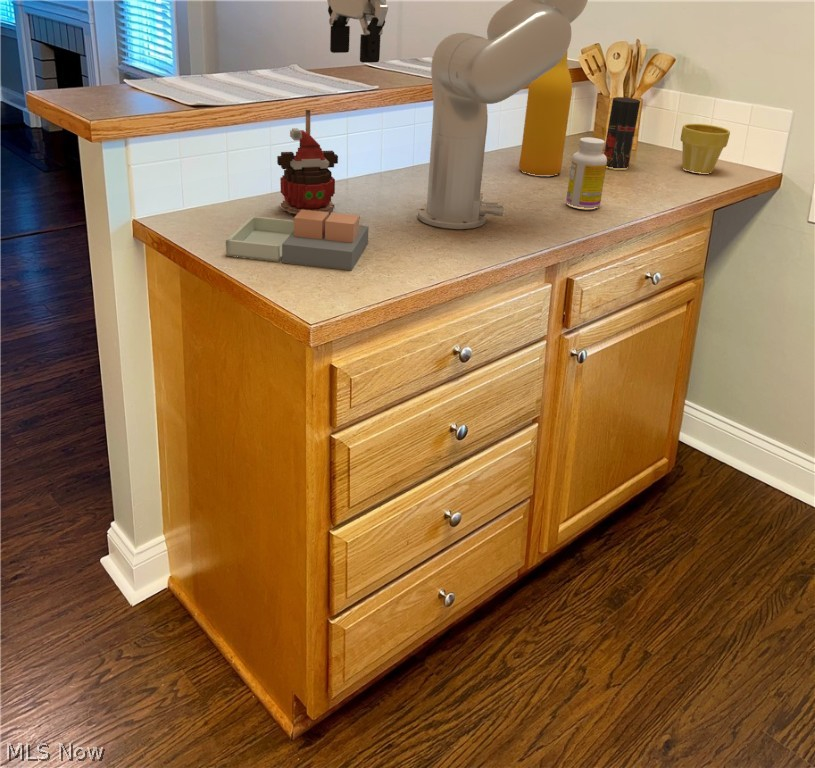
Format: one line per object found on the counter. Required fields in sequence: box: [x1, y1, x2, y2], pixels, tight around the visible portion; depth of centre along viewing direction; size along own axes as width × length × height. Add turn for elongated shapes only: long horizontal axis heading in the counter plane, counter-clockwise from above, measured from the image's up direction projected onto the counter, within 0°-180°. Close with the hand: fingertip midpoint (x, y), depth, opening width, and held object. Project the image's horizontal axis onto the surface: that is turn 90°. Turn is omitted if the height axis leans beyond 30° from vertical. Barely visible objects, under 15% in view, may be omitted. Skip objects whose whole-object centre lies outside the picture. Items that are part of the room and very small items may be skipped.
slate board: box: [281, 224, 370, 272], centre depth 139 cm, size 11×13×3 cm
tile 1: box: [293, 209, 330, 239], centre depth 138 cm, size 4×4×3 cm
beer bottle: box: [518, 51, 573, 175], centre depth 185 cm, size 9×9×29 cm
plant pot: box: [680, 123, 731, 173], centre depth 199 cm, size 10×10×10 cm
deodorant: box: [603, 96, 641, 168], centre depth 196 cm, size 6×6×15 cm
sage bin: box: [225, 215, 294, 263], centre depth 140 cm, size 8×13×3 cm, turn 171°
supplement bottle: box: [565, 136, 607, 208], centre depth 168 cm, size 7×7×13 cm
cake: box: [276, 108, 339, 215], centre depth 154 cm, size 11×9×18 cm
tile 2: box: [325, 212, 361, 243], centre depth 138 cm, size 4×4×3 cm
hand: (354, 57), depth 138 cm, fingers open, 9 cm apart
